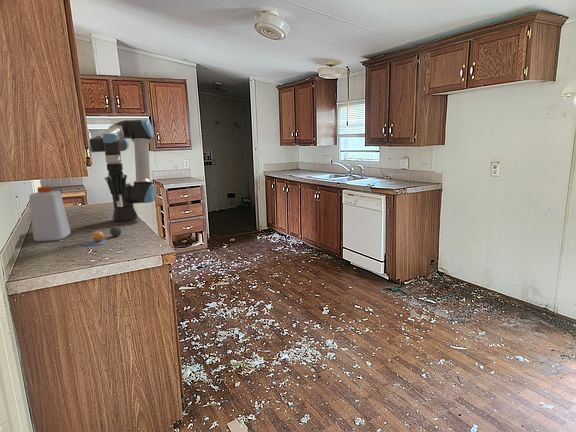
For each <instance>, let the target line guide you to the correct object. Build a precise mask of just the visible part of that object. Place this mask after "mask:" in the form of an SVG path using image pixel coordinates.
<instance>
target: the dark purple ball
mask: <svg viewBox="0 0 576 432" xmlns="http://www.w3.org/2000/svg"><path fill="white" fill-rule="evenodd" d="M109 233H110V235H111V236H112V237H119V236H120V235H121V234H122V228H120V227H119V226H117V225H115V226H112V227H111V228H110V229H109Z"/></svg>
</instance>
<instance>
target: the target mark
mask: <svg viewBox="0 0 576 432" xmlns="http://www.w3.org/2000/svg"><path fill="white" fill-rule="evenodd" d="M108 242H109V239H106V238H104V239H103V240H102V241H100V242H96V241H94V240H92V239H91V240H88V241H85V242H82V243H81V246H82V247H95V246H101V245H103V244H106V243H108Z"/></svg>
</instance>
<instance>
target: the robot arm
mask: <svg viewBox="0 0 576 432" xmlns="http://www.w3.org/2000/svg"><path fill="white" fill-rule="evenodd" d="M154 135H155V133H154V128H153V125H152V123H151V121H149V120H148V119H133V120H132V119H131V120H130V119H129V120H126V119H125V120H121V121H117V122H115V123H113V124H111V125H110V126H109V127H108V129H106V130H105V131H103V132H101V133H100V134H98V135H96V136H95V137H92V138H91V137H89V138H90V151H91V152H90V153H102V152H103V153H104V156H105V163H106V169H107V172H108V174H107V176H105V177H104V180H105V181H106V184H107V185H108V189H109V192H110V194H111V196H112V205H113V213H112V217H111V218H112V222H113V223H114V222H115V223H123V222H125V223H126V222H131V221H135V220H137V219H139V217H138V214H137V211H136V209H135V207H134V204H149V203H153V202H154V201H155V199H156V198H157V197H156V196H157V187H156V185H155V184H153V181H152V180H151V172H150V171H151V169H150V168H151V166H150V150H149V149H150V147H149V144H150V143H151V141H152V139H153V138H154ZM127 139H131V142H133V143H134V163H135V180H134V181H133V185H131V183H127V177H128V175H127V174H124V172H123V169H124V167H123V163H122V161H123V160H122V154H121V152H124V151H127V150H128V148H129V141H128V140H127Z"/></svg>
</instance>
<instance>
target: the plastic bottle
mask: <svg viewBox="0 0 576 432" xmlns="http://www.w3.org/2000/svg"><path fill="white" fill-rule="evenodd" d="M36 190H37V192H33V193H31V194H30V195H29V196H28V198H29V208H30V215H31V216H30V217H31V226H32V235H33V236H32V237H33V241H35V242H39V243H40V242H41V243H42V242H52V241H54V242H55V241H60V240H63V239H66V238H67V237H68V236H69V235H71V234H72V233H71V232H72V231H71V227H70V224H69V221H68V220H69V219H68V216H67V213H66V209H65V203H64V201H63V196H62V193H61V191H59V190H52V186H49V185H48V186H39V187H37V189H36Z"/></svg>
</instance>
